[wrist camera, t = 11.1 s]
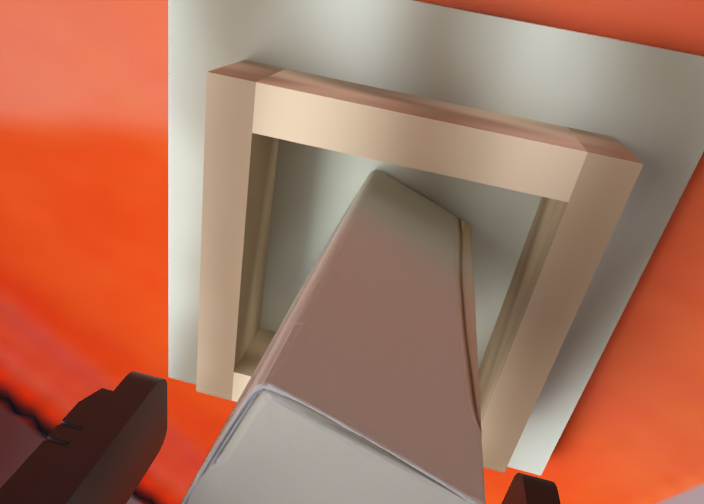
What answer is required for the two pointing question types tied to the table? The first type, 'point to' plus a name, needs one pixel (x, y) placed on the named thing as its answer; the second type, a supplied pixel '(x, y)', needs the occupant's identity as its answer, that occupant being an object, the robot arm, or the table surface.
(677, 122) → the square collar plate
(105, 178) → the table surface
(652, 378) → the table surface
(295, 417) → the skincare box
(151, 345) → the table surface
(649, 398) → the table surface
